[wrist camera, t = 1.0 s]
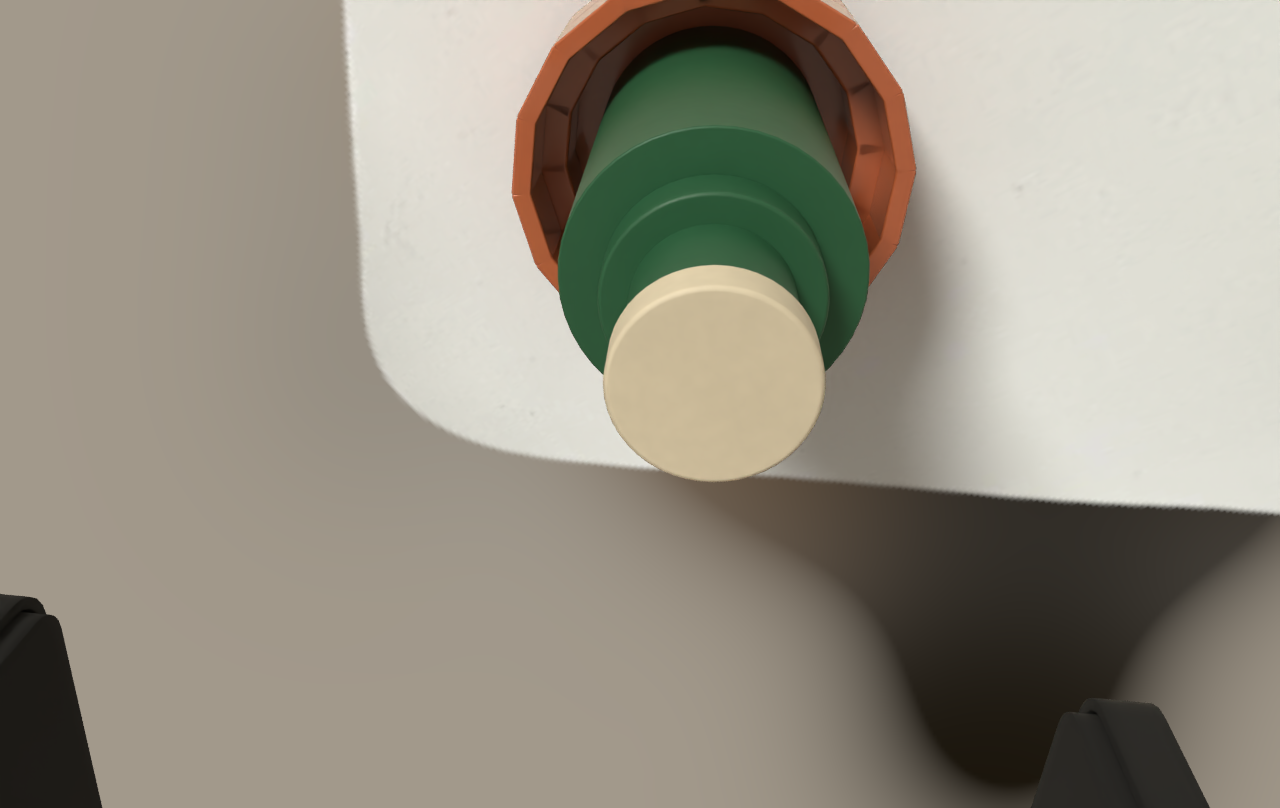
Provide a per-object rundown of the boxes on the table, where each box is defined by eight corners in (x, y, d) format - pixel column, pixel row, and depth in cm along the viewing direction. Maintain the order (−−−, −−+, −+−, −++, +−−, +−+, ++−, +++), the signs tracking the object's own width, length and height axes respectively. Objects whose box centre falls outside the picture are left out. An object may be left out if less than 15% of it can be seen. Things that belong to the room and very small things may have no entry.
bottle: (558, 118, 32) (443, 354, 18) (734, -24, 30) (759, 119, 16) (689, 279, 34) (677, 603, 20) (862, 158, 32) (981, 425, 18)
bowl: (469, 100, 32) (431, 146, 28) (750, -136, 29) (758, -127, 24) (677, 350, 36) (673, 426, 31) (950, 164, 32) (989, 220, 28)
